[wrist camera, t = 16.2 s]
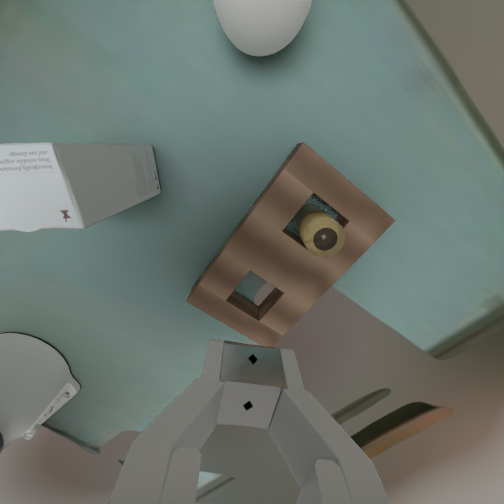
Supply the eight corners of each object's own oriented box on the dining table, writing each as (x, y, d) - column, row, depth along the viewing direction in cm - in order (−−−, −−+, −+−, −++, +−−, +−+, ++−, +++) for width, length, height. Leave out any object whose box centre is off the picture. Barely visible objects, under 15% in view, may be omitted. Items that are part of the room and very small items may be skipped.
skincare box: (153, 144, 28) (57, 134, 14) (163, 196, 30) (88, 230, 17) (83, 148, 28) (-79, 141, 15) (98, 199, 31) (-30, 236, 17)
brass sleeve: (318, 236, 32) (337, 261, 25) (289, 230, 32) (300, 253, 24) (327, 207, 31) (351, 224, 23) (298, 201, 30) (312, 215, 23)
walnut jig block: (267, 333, 38) (268, 349, 35) (192, 288, 35) (186, 301, 32) (380, 213, 31) (395, 220, 28) (297, 143, 28) (303, 142, 25)
